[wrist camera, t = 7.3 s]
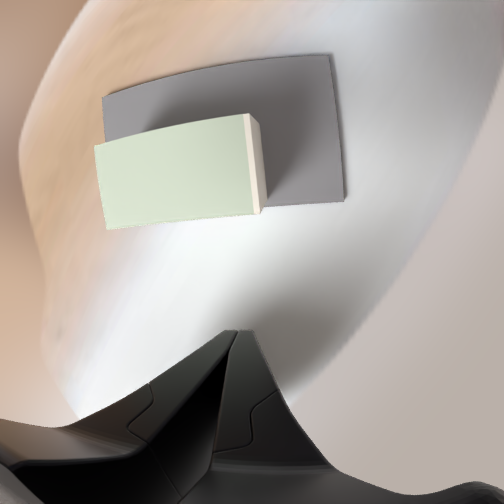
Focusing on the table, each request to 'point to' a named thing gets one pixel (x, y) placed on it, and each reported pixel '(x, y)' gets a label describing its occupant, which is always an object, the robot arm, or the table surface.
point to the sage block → (183, 173)
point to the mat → (261, 109)
